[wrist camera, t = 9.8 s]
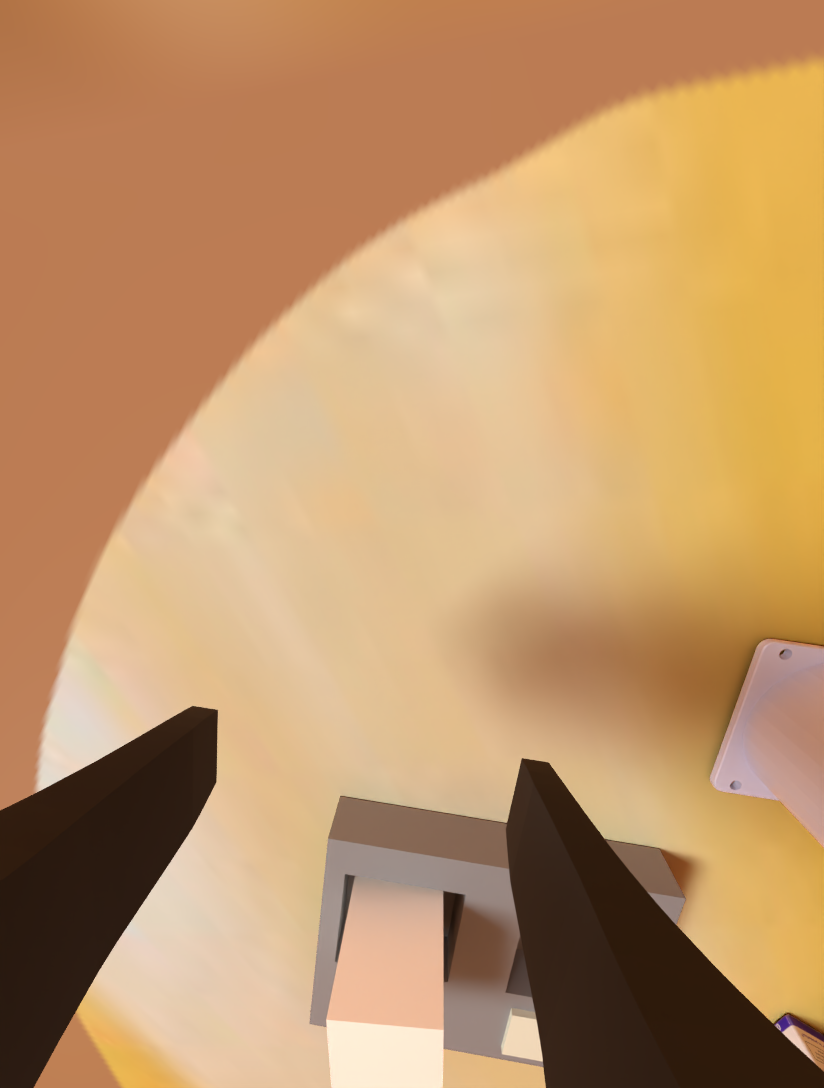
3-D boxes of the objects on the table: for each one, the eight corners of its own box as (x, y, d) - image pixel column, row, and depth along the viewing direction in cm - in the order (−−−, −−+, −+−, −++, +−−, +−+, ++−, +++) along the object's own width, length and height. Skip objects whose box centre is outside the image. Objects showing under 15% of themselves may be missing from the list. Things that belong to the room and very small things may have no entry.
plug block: (443, 854, 23) (443, 1030, 16) (442, 918, 24) (442, 1108, 17) (360, 849, 23) (326, 1019, 16) (362, 913, 24) (331, 1097, 17)
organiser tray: (659, 848, 22) (689, 905, 20) (600, 1019, 25) (619, 1089, 23) (340, 796, 23) (326, 844, 20) (321, 969, 26) (307, 1031, 23)
